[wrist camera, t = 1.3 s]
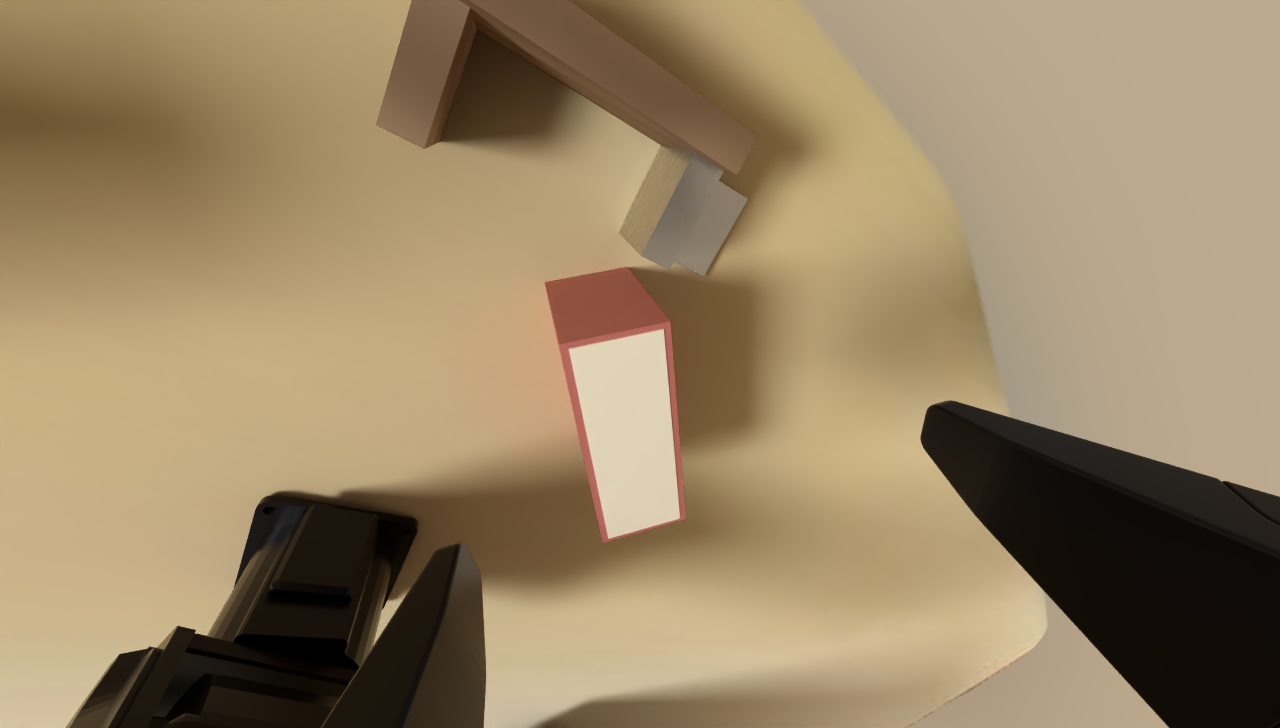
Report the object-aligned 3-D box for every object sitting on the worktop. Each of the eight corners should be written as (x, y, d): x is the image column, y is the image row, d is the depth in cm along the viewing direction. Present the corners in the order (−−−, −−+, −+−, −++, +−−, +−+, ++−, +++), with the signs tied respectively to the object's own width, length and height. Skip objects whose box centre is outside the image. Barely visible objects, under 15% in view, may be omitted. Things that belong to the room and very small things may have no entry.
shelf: (644, 245, 19) (679, 278, 15) (401, 122, 15) (366, 126, 11) (703, 131, 17) (758, 136, 14) (450, -40, 13) (429, -100, 10)
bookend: (701, 274, 20) (734, 302, 17) (618, 232, 18) (640, 255, 15) (744, 197, 19) (789, 213, 16) (661, 145, 17) (694, 152, 14)
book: (647, 432, 24) (686, 520, 19) (581, 449, 23) (602, 544, 18) (626, 266, 19) (670, 321, 14) (544, 281, 19) (559, 345, 14)
